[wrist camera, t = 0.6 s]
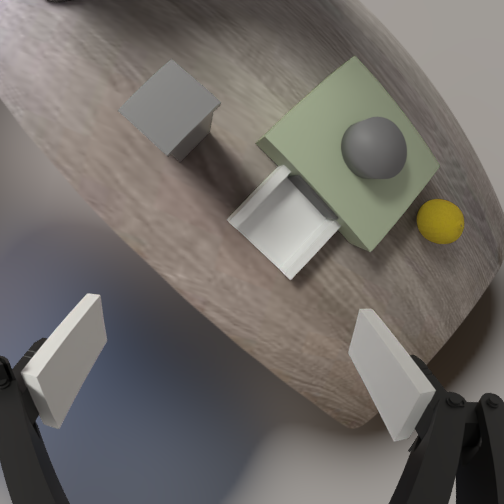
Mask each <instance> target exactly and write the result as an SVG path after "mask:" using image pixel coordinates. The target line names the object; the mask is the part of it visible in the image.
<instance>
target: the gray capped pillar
mask: <svg viewBox="0 0 504 504" xmlns="http://www.w3.org/2000/svg"><path fill="white" fill-rule="evenodd" d="M220 104H221V102H220V101H219V100H218V99H217V98H216V97H215V96H214V95H213V94H212V93H210V92H209V91H208V90H207V89H206V88H205V87H204V86H203V85H201V84H200V83H199V82H198V81H197V80H196V79H194V78H193V77H192V76H191V75H190V74H189V73H187V72H186V71H185V70H184V69H183V68H182V67H180V66H179V65H178V64H177V63H176V62H174V61H173V60H172V59H171V60H169V61H168V62H167V63H166V64H165V65H164V66H163V67H162V68H160V69H159V70H158V71H157V72H156V73H155V74H154V75H153V76H152V77H151V78H150V79H149V80H148V81H146V82H145V83H144V84H143V85H142V86H141V87H140V88H139V89H138V90H137V91H136V92H135V93H134V94H133V95H132V96H131V97H130V98H129V99H128V100H127V101H126V102H125V103H124V104H123V105H122V107H121V108H120V109H119V110H118V111H119V112H120V113H121V114H122V115H123V116H124V117H125V118H126V119H127V120H129V121H130V122H131V123H132V124H133V125H134V126H135V127H136V128H137V129H138V130H139V131H141V132H142V133H143V134H144V135H145V136H146V137H147V138H148V139H149V140H150V141H151V142H152V143H154V144H155V145H156V146H157V147H158V148H159V149H160V150H161V151H162V152H163V153H164V154H165V155H167V156H168V157H169V156H170V155H172V156H173V157H174V158H175V159H176V160H178V161H179V162H181V161H182V160H183V159H184V158H185V157H186V156H187V155H188V154H189V153H190V152H191V151H192V149H193V148H194V147H195V146H196V145H197V144H198V143H199V142H200V141H201V140H202V139H203V138H204V137H205V136H206V135H207V134H208V133H209V132H210V128H211V122H212V116H213V112H214V111H215V110H216V109H217V108H218V107H219V106H220Z"/></svg>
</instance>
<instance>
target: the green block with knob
mask: <svg viewBox="0 0 504 504" xmlns="http://www.w3.org/2000/svg"><path fill="white" fill-rule="evenodd" d="M255 144H256V145H258V146H259V147H260V148H261V149H262V150H263V151H264V152H265V153H266V154H267V155H268V156H269V157H270V158H271V159H272V160H273V161H274V162H275V163H276V164H277V165H278V167H277V168H276V169H275V170H274V171H273V172H272V173H271V174H270V175H269V176H268V177H267V178H266V179H265V180H264V181H263V182H262V183H261V184H260V185H259V186H258V187H257V188H256V189H255V190H254V191H253V193H252V194H251V195H250V196H249V197H248V198H247V199H246V200H245V201H244V202H243V203H242V204H241V205H240V206H239V207H238V208H237V209H236V210H235V211H234V212H233V213H232V214H231V215H230V217H229V218H228V219H227V220H228V222H229V223H230V224H231V225H232V226H233V227H235V228H236V229H237V230H238V231H239V232H241V233H242V234H243V235H244V236H245V237H246V238H247V239H248V240H249V241H250V242H251V243H252V244H253V245H254V246H255V247H256V248H258V249H259V250H260V251H261V252H262V253H263V254H264V255H265V256H266V257H267V258H268V259H269V260H270V261H271V262H272V263H273V264H275V265H276V266H277V267H278V268H279V269H280V270H281V271H282V272H283V273H284V275H286V276H287V277H288V278H289V279H290V280H291V279H292V278H293V277H294V276H295V275H296V274H297V273H298V272H299V271H300V270H301V269H302V268H303V267H304V265H305V264H306V263H307V262H308V261H309V260H310V259H311V258H312V257H313V256H314V255H315V254H316V253H317V252H318V251H319V249H320V248H321V247H322V246H323V245H324V244H325V243H326V242H327V241H328V240H329V239H330V238H331V237H332V235H333V234H334V233H335V232H336V231H337V230H339V232H340V233H341V234H342V235H343V236H344V237H345V238H346V239H347V241H348V242H349V243H350V244H353V245H355V246H357V247H360V248H362V249H364V250H367V251H369V252H371V251H372V250H373V249H374V248H375V247H376V246H377V244H378V243H379V242H380V241H381V240H382V239H383V237H384V236H385V235H386V234H387V233H388V231H389V230H390V229H391V228H392V227H393V225H394V224H395V223H396V222H397V221H398V219H399V218H400V217H401V216H402V215H403V213H404V212H405V211H406V210H407V208H408V207H409V206H410V205H411V203H412V202H413V201H414V200H415V198H416V197H417V196H418V194H419V193H420V192H421V191H422V189H423V188H424V187H425V185H426V184H427V183H428V182H429V180H430V179H431V178H432V176H433V175H434V174H435V172H436V171H437V170H438V168H439V167H440V165H439V163H438V162H437V160H436V158H435V157H434V155H433V154H432V152H431V151H430V149H429V148H428V146H427V145H426V143H425V142H424V140H423V139H422V137H421V136H420V135H419V133H418V132H417V130H416V129H415V127H414V126H413V125H412V123H411V122H410V121H409V119H408V118H407V117H406V115H405V114H404V113H403V111H402V110H401V109H400V107H399V106H398V105H397V104H396V102H395V101H394V100H393V99H392V97H391V96H390V95H389V94H388V92H387V91H386V90H385V89H384V88H383V86H382V85H381V84H380V83H379V82H378V81H377V79H376V78H375V77H374V76H373V75H372V74H371V72H370V71H369V70H368V69H367V68H366V67H365V66H364V65H363V64H362V63H361V61H360V60H359V59H358V58H357V57H356V56H353V57H352V58H351V59H349V60H348V61H347V62H345V63H344V64H343V65H341V66H340V67H339V68H337V69H336V70H335V71H334V72H333V73H331V74H330V75H329V76H328V77H327V78H326V79H324V80H323V81H322V82H321V83H320V84H319V85H318V86H316V87H315V88H314V89H313V90H312V91H311V92H310V93H309V94H307V95H306V96H305V97H304V98H303V99H302V100H301V101H300V102H299V103H298V104H296V105H295V106H294V107H293V108H292V109H291V110H290V111H289V112H288V113H287V114H286V115H285V116H283V117H282V118H281V119H280V120H279V121H278V122H277V123H276V124H275V125H274V126H273V127H272V128H271V129H270V130H269V131H268V132H267V133H266V134H264V135H263V136H262V137H261V138H260V139H259V140H258V141H257V142H256V143H255Z"/></svg>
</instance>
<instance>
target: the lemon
mask: <svg viewBox="0 0 504 504" xmlns="http://www.w3.org/2000/svg"><path fill="white" fill-rule="evenodd" d="M417 226H418V229H419V231H420V233H421V234H422V235H423V237H425V238H426V239H427V240H429V241H431V242H434V243H437V244H449V243H452V242H454V241H456V240H457V239H458V238H459V237H460V236H461V234H462V232H463V229H464V217H463V214H462V212H461V210H460V209H459V208H458V207H457V206H456V205H455V204H453V203H451V202H449V201H447V200H443V199H433V200H429V201H428V202H426V203H424V204H423V205H422V206H421V208H420V209H419V211H418V214H417Z"/></svg>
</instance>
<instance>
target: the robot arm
mask: <svg viewBox="0 0 504 504" xmlns="http://www.w3.org/2000/svg"><path fill="white" fill-rule="evenodd" d="M48 1H53V2H63V1H69V0H48ZM106 342H107V337H106V331H105V325H104V318H103V311H102V304H101V297H100V295H95V294H86V296H85V297H84V298H83V299H82V300H81V301H80V302H79V303H78V305H76V307H75V308H74V309H73V310H72V311H71V312H70V313H69V315H68V316H67V317H66V318H65V319H64V320H63V321H62V323H61V324H60V325H59V326H58V327H57V328H56V330H55V331H54V332H53V333H52V334H51V335H50V337H49V338H48V339H47V338H42V339H40V340H39V341H37V342H35V343H34V344H33V345H32V346H31V347H30V349H29V351H27V352H26V353H25V354H24V356H23V357H22V358H21V359H20V361H19V362H18V363H17V364H16V365H15V367H14V368H13V369H12V368H11V366H10V363H9V361H8V359H7V358H5V357H3V356H0V462H1V466H2V470H3V473H4V477H5V480H6V484H7V487H8V491H9V494H10V497H11V500H12V503H13V504H70V503H69V501H68V499H67V497H66V495H65V493H64V491H63V489H62V486H61V484H60V482H59V480H58V478H57V475H56V473H55V471H54V468H53V466H52V464H51V461H50V458H49V456H48V453H47V450H46V448H45V445H44V442H43V439H42V437H41V434H40V431H39V428H38V425H37V423H36V419H37V417H38V415H39V416H40V418H41V420H42V422H43V424H45V425H48V426H51V427H54V428H58V429H59V428H60V426H61V424H62V422H63V420H64V418H65V416H66V415H67V412H68V411H69V409H70V407H71V405H72V403H73V401H74V399H75V397H76V395H77V394H78V392H79V390H80V388H81V386H82V384H83V382H84V381H85V379H86V377H87V375H88V373H89V372H90V370H91V368H92V366H93V364H94V363H95V361H96V359H97V357H98V356H99V354H100V352H101V350H102V349H103V347H104V345H105V343H106ZM348 353H349V355H350V357H351V359H352V361H353V363H354V365H355V367H356V369H357V370H358V372H359V374H360V376H361V378H362V380H363V382H364V384H365V386H366V388H367V390H368V392H369V394H370V395H371V397H372V399H373V401H374V403H375V405H376V407H377V409H378V411H379V413H380V415H381V417H382V419H383V421H384V423H385V425H386V427H387V429H388V431H389V433H390V435H391V437H392V439H393V441H394V442H395V441H400V440H404V439H408V438H409V437H410V436H411V434H412V432H413V431H414V429H415V430H416V431H417V433H418V436H417V438H416V440H415V441H414V443H413V444H412V446H411V447H410V449H409V450H408V451H409V452H410V451H411V453H410V455H409V458H408V461H407V463H406V466H405V468H404V471H403V473H402V476H401V478H400V480H399V483H398V485H397V487H396V489H395V492H394V494H393V496H392V498H391V500H390V502H389V504H448V502H449V499H450V496H451V492H452V488H453V484H454V480H455V476H456V504H504V402H503V400H502V399H501V398H500V397H499V396H497V395H495V394H492V393H485V394H484V395H483V396H482V397H481V399H480V400H479V402H466V400H465V399H464V398H463V397H462V396H461V395H459V394H457V393H454V392H447V391H446V390H445V389H444V388H443V386H442V385H441V384H440V382H439V381H438V380H437V379H436V377H435V376H434V375H432V372H431V371H430V370H429V369H428V367H427V366H426V364H425V363H424V362H423V361H422V360H421V359H419V358H418V357H416V356H415V355H409V354H408V353H407V352H406V350H405V349H404V348H403V346H402V345H401V344H400V343H399V341H398V340H397V339H396V338H395V336H394V335H393V334H392V332H391V331H390V330H389V329H388V327H387V326H386V325H385V324H384V323H383V321H382V320H381V319H380V318H379V316H378V315H377V314H376V313H375V311H374V310H373V309H359V313H358V317H357V321H356V325H355V329H354V333H353V337H352V340H351V344H350V347H349V351H348Z"/></svg>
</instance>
